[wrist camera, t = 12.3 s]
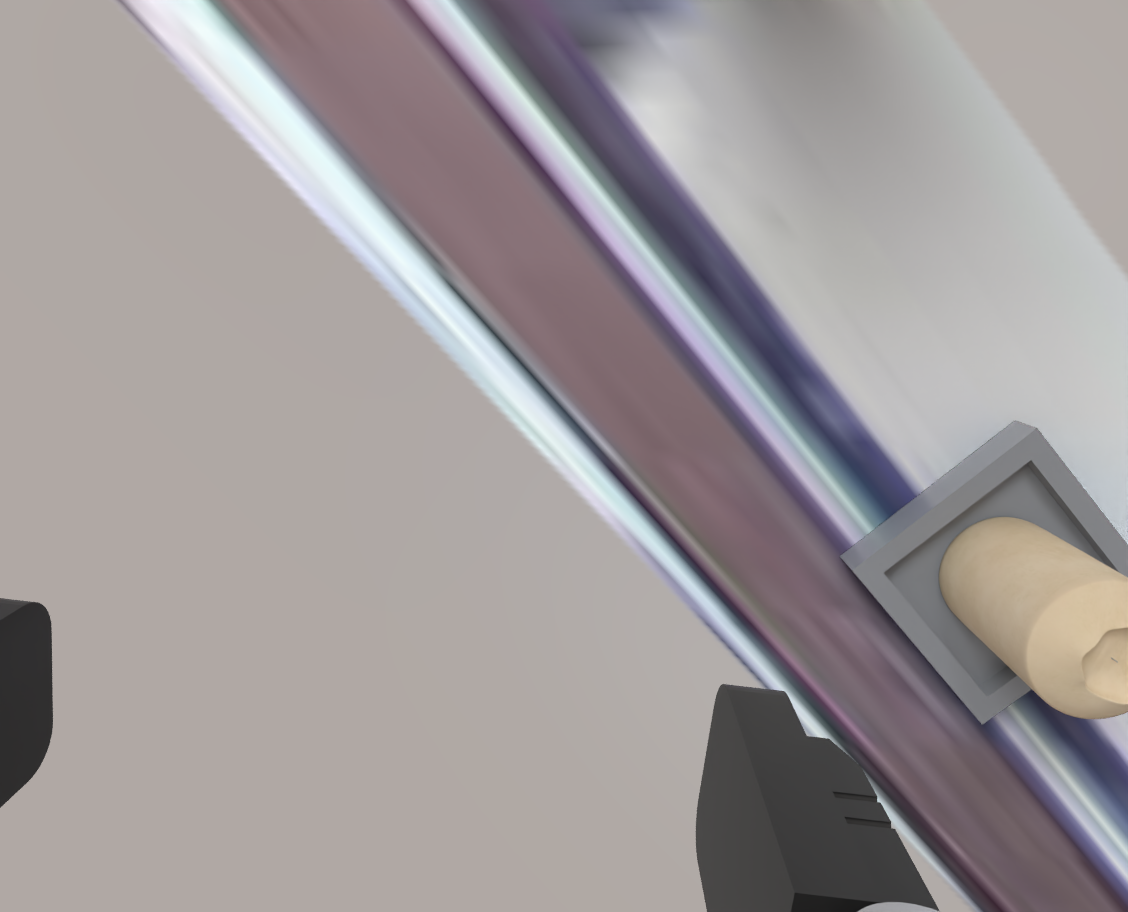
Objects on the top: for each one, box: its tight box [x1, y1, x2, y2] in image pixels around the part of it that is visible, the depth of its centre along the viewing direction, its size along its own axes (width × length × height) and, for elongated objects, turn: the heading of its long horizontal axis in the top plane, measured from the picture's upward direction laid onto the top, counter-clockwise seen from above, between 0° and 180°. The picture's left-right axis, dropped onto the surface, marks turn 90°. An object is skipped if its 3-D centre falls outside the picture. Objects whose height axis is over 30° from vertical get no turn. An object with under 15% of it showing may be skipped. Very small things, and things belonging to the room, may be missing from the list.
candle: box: [939, 517, 1128, 719], centre depth 36 cm, size 6×6×10 cm
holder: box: [840, 421, 1128, 725], centre depth 41 cm, size 10×10×2 cm
